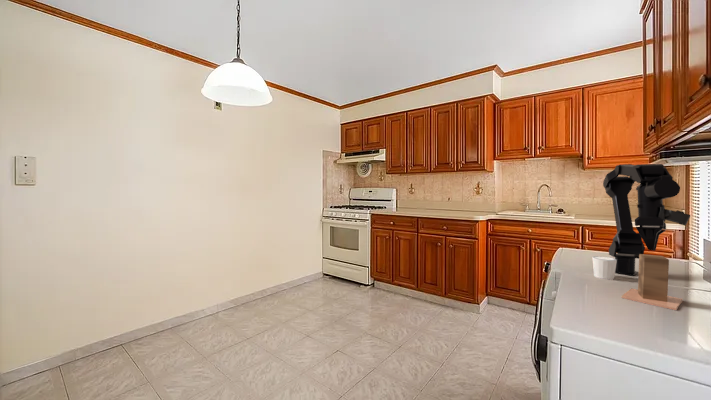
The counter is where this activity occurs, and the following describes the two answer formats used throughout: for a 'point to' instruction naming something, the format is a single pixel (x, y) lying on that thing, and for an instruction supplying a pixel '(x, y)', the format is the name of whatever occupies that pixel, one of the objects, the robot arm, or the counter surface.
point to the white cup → (604, 267)
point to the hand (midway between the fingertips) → (652, 250)
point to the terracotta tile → (670, 304)
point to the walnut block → (653, 277)
